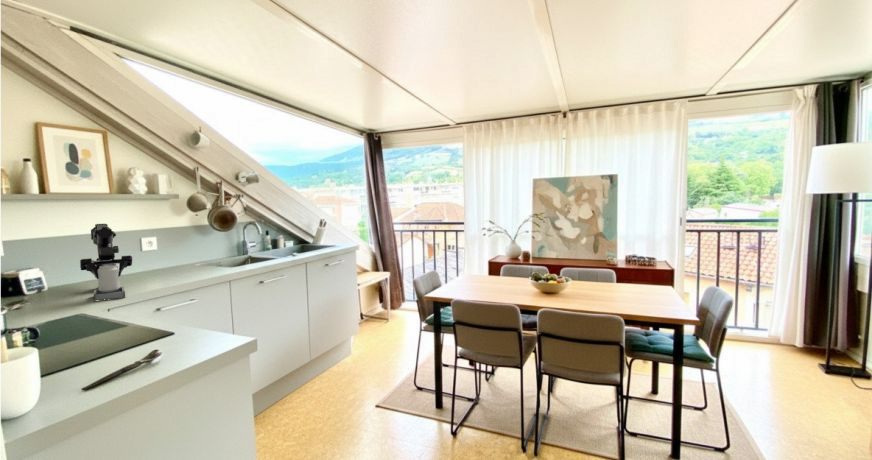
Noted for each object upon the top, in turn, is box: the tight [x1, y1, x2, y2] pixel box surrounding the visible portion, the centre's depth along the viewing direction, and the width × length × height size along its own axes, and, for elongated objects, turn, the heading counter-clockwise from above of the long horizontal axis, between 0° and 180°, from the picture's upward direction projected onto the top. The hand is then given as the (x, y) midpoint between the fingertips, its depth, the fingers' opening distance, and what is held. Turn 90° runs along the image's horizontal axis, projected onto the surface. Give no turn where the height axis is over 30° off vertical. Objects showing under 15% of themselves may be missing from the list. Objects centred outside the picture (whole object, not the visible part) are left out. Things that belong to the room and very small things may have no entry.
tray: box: [93, 286, 126, 301], centre depth 180 cm, size 11×11×3 cm
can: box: [97, 264, 120, 292], centre depth 180 cm, size 8×8×12 cm
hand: (108, 277), depth 179 cm, fingers closed on can, 7 cm apart
